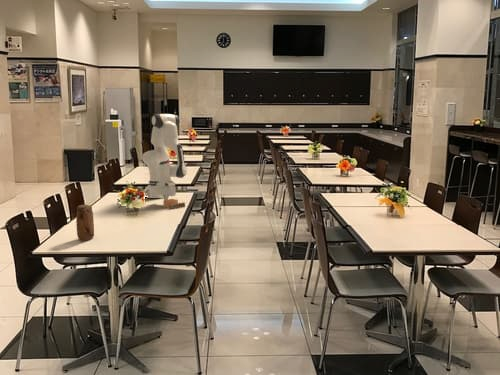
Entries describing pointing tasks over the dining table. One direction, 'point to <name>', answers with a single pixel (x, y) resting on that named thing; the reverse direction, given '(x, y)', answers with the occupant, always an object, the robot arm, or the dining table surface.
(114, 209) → the dining table surface
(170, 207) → the walnut board
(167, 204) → the orange block
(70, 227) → the dining table surface
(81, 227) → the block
